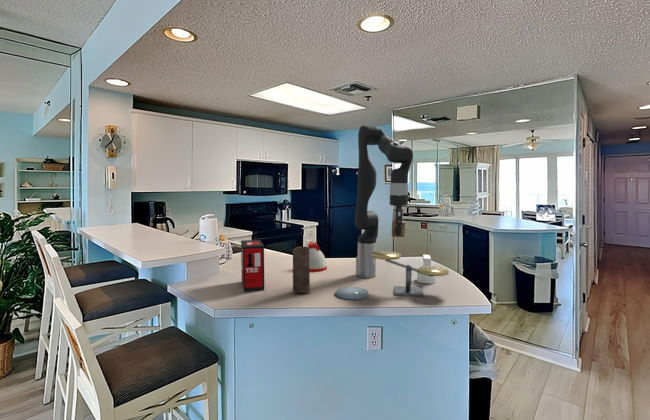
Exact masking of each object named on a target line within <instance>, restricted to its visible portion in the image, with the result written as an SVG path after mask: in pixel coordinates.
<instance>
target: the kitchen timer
mask: <svg viewBox="0 0 650 420" xmlns="http://www.w3.org/2000/svg"><path fill="white" fill-rule="evenodd" d="M307 247H309V268H310V273H317V272H318V273H319V272H324V270H325V271H327V268H328V267H327V266H328V265H327V260H326V258H325V255H324V253H323V252H322V251H321V250H320V249H321V246H319V244H317V242H315V241H312V242H311V241H309V243H307Z"/></svg>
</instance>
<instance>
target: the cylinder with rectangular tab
mask: <svg viewBox="0 0 650 420" xmlns="http://www.w3.org/2000/svg"><path fill="white" fill-rule="evenodd" d="M422 266H432V258H431V255H430V254H422ZM416 281H417V282H418V283H422V284H435V283H437V276H432V277H431V276H428V275H423V274H420V273H418V272H416Z"/></svg>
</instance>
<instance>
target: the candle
mask: <svg viewBox="0 0 650 420" xmlns="http://www.w3.org/2000/svg"><path fill="white" fill-rule="evenodd" d="M310 274H311V272H310V268H309V247H308V246H296V247H295V248H292V291H293V292H295V293H299V294H300V293H302V294H304V293H310V292H311V291H310V290H311V280H310V279H311V278H310V277H311V276H310Z"/></svg>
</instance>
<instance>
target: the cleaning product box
mask: <svg viewBox="0 0 650 420" xmlns="http://www.w3.org/2000/svg"><path fill="white" fill-rule="evenodd" d="M240 251H241V252H240V253H241V255H240V257H241V261H240V262H241V284H242V291H243V293H247V292H248V293H249V292H250V293H251V292H258V291H261V292H262V291H265V245H264V243H263V242H262V241H261V239H248V240H247V239H246V240H245V239H244V240H240Z"/></svg>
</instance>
